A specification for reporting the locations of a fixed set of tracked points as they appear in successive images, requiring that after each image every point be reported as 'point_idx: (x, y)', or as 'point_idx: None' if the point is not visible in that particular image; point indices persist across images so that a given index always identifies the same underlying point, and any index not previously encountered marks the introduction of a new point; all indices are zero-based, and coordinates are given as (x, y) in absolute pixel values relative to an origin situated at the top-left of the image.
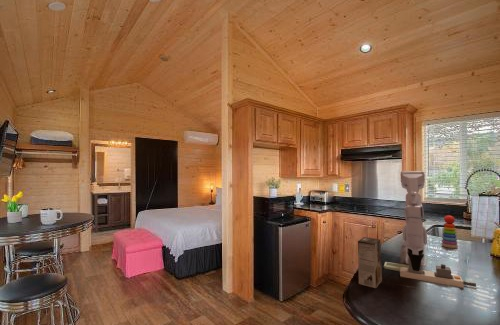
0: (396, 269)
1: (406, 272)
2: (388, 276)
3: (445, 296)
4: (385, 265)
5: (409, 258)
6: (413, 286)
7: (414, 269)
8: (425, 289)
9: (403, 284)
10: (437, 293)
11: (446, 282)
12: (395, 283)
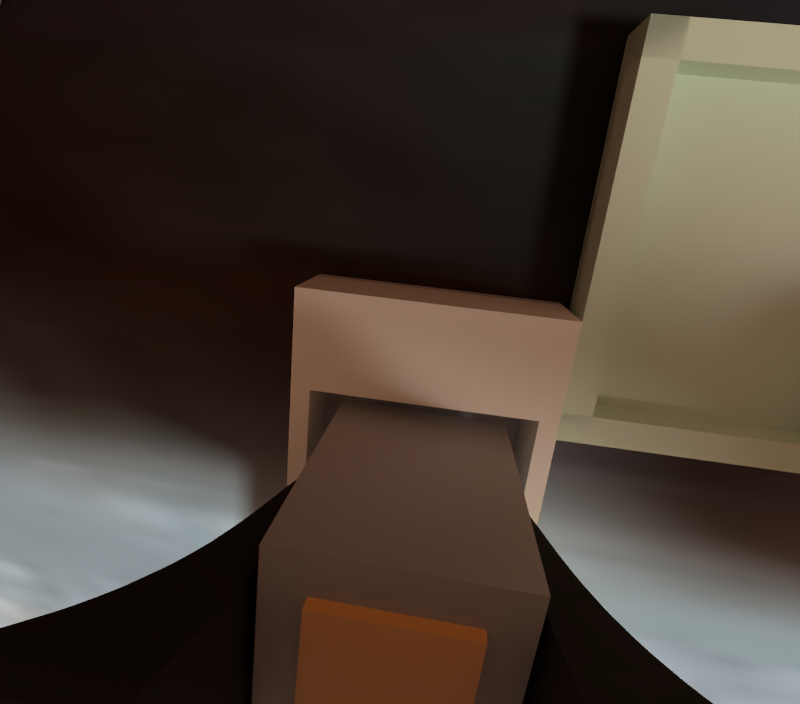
0: (590, 247)
1: (292, 373)
2: (275, 111)
3: (2, 588)
4: (710, 50)
5: (273, 570)
6: (77, 382)
7: None
8: (66, 476)
9: (71, 286)
10: (30, 549)
11: None
12: (44, 194)
